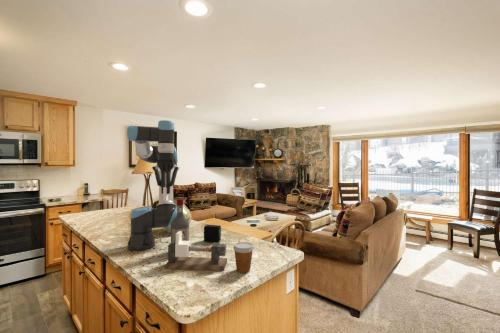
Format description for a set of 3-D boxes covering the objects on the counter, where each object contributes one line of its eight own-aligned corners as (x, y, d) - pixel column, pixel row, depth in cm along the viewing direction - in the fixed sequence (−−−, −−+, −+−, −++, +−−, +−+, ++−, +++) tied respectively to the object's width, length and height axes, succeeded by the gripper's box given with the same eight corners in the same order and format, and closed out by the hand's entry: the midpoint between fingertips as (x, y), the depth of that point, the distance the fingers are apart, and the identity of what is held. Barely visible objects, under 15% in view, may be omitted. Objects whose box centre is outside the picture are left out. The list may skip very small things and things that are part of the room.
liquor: (170, 250, 140) (170, 198, 139) (186, 248, 144) (186, 197, 143) (172, 256, 132) (172, 200, 131) (189, 254, 136) (190, 199, 135)
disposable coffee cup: (233, 266, 120) (233, 241, 120) (252, 265, 121) (252, 241, 121) (233, 275, 111) (233, 248, 111) (254, 274, 112) (254, 248, 111)
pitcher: (186, 235, 169) (186, 199, 169) (152, 235, 169) (152, 199, 169) (194, 227, 191) (194, 195, 191) (164, 227, 192) (164, 195, 192)
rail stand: (165, 268, 117) (165, 246, 117) (172, 260, 127) (173, 240, 127) (224, 270, 115) (224, 248, 115) (227, 262, 125) (227, 241, 125)
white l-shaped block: (175, 256, 118) (175, 234, 118) (179, 252, 124) (179, 230, 124) (187, 257, 118) (187, 234, 118) (191, 252, 124) (191, 230, 124)
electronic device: (218, 242, 155) (218, 227, 155) (203, 241, 157) (203, 226, 157) (220, 240, 159) (220, 225, 159) (206, 239, 161) (206, 224, 161)
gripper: (149, 152, 117) (149, 201, 118) (176, 152, 117) (176, 201, 117) (156, 152, 125) (156, 199, 125) (181, 152, 124) (181, 199, 125)
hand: (165, 200), depth 121 cm, fingers closed
